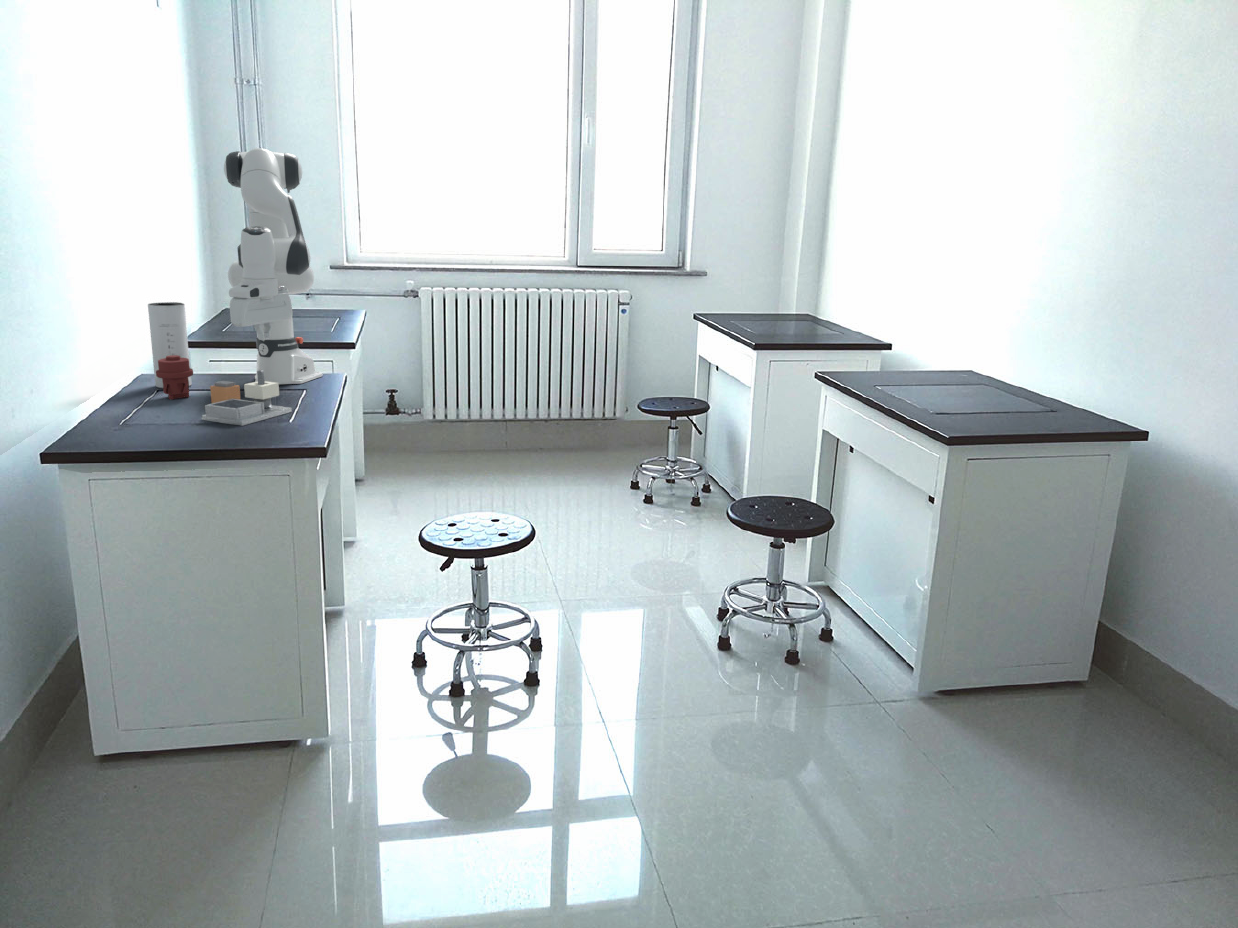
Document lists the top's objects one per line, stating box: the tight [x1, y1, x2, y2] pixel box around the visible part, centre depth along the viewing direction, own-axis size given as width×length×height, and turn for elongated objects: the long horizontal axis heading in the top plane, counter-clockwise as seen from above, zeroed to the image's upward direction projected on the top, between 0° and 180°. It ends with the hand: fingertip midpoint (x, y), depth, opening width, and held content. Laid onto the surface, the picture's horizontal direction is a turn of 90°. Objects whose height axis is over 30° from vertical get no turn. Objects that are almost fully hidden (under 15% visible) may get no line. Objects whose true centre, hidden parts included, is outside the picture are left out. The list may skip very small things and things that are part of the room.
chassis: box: [201, 370, 293, 427], centre depth 266 cm, size 19×14×12 cm
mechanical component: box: [156, 355, 194, 400], centre depth 286 cm, size 12×10×10 cm
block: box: [209, 380, 242, 404], centre depth 277 cm, size 5×6×7 cm
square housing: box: [243, 381, 280, 399], centre depth 271 cm, size 6×6×4 cm
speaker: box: [147, 301, 192, 389], centre depth 300 cm, size 11×10×26 cm
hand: (264, 339), depth 266 cm, fingers closed
